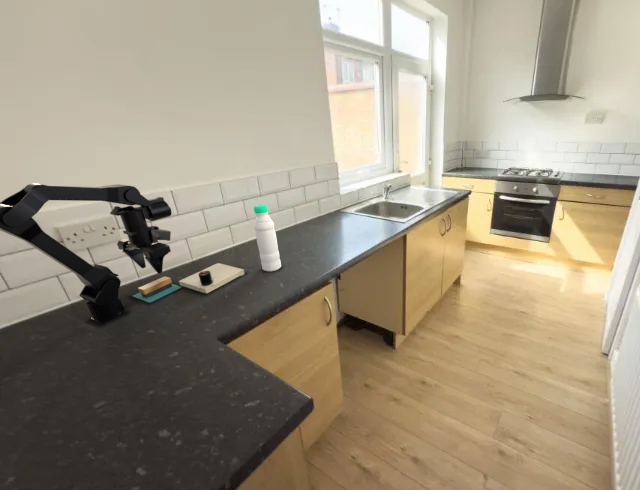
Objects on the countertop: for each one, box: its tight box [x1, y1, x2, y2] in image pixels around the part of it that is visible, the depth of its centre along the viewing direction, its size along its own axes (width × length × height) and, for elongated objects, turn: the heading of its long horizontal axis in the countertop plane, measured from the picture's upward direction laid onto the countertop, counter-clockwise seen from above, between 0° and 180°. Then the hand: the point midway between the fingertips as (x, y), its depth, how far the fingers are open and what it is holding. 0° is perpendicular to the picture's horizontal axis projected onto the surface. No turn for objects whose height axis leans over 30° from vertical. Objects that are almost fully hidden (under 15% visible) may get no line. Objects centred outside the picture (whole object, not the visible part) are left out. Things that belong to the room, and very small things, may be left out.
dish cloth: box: [132, 282, 182, 304], centre depth 109 cm, size 11×10×1 cm
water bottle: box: [253, 204, 282, 273], centre depth 118 cm, size 7×7×25 cm
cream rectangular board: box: [178, 262, 246, 294], centre depth 115 cm, size 17×15×2 cm
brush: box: [137, 276, 173, 298], centre depth 108 cm, size 9×3×3 cm, turn 154°
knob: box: [198, 270, 213, 286], centre depth 108 cm, size 4×4×4 cm
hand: (151, 270), depth 105 cm, fingers open, 9 cm apart
